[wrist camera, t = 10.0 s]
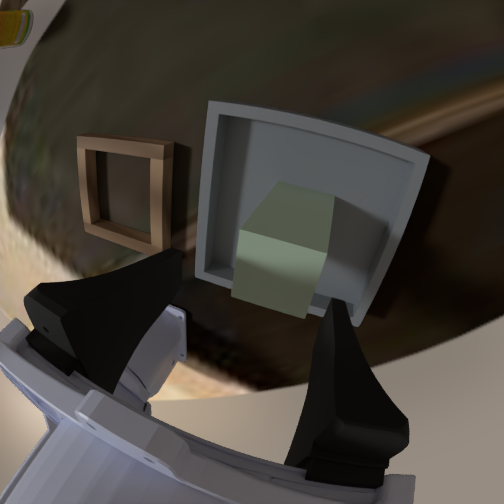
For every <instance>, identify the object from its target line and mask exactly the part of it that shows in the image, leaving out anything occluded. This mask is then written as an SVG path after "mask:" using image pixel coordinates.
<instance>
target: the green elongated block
mask: <svg viewBox="0 0 504 504" xmlns="http://www.w3.org/2000/svg"><path fill="white" fill-rule="evenodd" d="M334 200H335V196H334V195H330V194H326V193H323V192H319V191H316V190H312V189H308V188H304V187H300V186H297V185H293V184H289V183H285V182H281V181H278V182H277V183H276V185H275V186H274V187H273V188H272V190H271V191H270V192H269V193H268V194H267V196H266V197H265V198H264V199H263V201H262V202H261V203H260V204H259V206H258V207H257V208H256V209H255V211H254V212H253V213H252V214H251V216H250V217H249V218H248V219H247V221H246V222H245V223H244V224H243V226H242V227H241V228H240V231H239V238H238V246H237V253H236V261H235V269H234V276H233V284H232V292H231V296H232V297H235V298H238V299H241V300H244V301H247V302H251V303H254V304H257V305H260V306H263V307H267V308H270V309H273V310H276V311H280V312H283V313H286V314H290V315H293V316H297V317H300V318H303V319H305V317H306V314H307V311H308V308H309V306H310V303H311V300H312V297H313V294H314V292H315V289H316V286H317V283H318V280H319V277H320V274H321V271H322V268H323V265H324V262H325V259H326V256H327V252H328V245H329V238H330V231H331V224H332V216H333V208H334Z"/></svg>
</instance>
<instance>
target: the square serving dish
mask: <svg viewBox="0 0 504 504" xmlns="http://www.w3.org/2000/svg"><path fill="white" fill-rule="evenodd" d="M20 2H21V0H0V11H11V10H19V6H20Z"/></svg>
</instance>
